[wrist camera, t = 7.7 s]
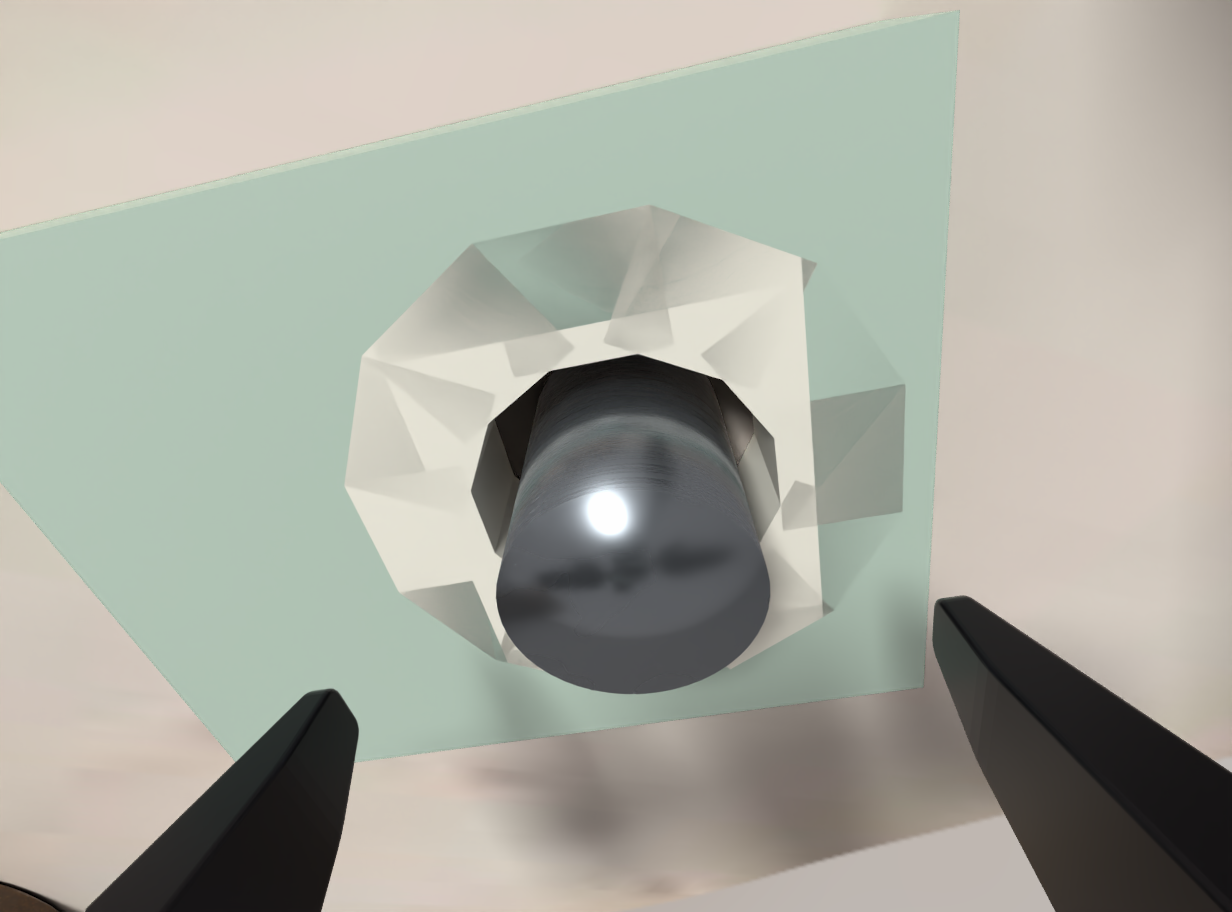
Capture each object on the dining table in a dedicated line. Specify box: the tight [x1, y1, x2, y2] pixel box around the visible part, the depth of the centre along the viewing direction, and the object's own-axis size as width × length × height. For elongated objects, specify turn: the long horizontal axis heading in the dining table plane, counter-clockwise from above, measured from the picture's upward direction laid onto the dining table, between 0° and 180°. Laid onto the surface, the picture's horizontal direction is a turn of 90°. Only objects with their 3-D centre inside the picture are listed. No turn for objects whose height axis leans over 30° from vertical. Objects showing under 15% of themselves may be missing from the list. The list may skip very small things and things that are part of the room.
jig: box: [0, 10, 960, 762], centre depth 15 cm, size 18×14×3 cm
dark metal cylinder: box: [496, 354, 770, 694], centre depth 13 cm, size 4×4×6 cm
